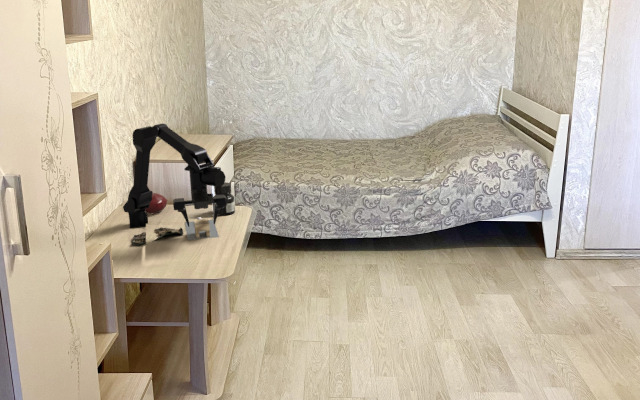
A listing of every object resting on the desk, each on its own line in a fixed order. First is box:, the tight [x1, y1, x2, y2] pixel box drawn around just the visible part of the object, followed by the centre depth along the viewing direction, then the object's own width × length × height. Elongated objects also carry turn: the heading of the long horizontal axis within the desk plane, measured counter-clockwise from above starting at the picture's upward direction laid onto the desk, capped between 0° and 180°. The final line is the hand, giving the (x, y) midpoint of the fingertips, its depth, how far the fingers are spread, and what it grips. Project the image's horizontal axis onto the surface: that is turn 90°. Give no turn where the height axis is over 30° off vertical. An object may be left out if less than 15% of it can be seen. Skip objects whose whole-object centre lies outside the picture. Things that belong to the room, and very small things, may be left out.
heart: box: [145, 192, 168, 215], centre depth 271 cm, size 12×8×10 cm
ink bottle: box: [212, 181, 236, 216], centre depth 267 cm, size 10×9×12 cm
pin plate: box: [184, 216, 220, 241], centre depth 245 cm, size 11×21×4 cm, turn 14°
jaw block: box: [193, 218, 210, 238], centre depth 238 cm, size 5×6×5 cm
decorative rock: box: [131, 226, 184, 246], centre depth 240 cm, size 19×6×15 cm
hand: (201, 225), depth 238 cm, fingers open, 9 cm apart
